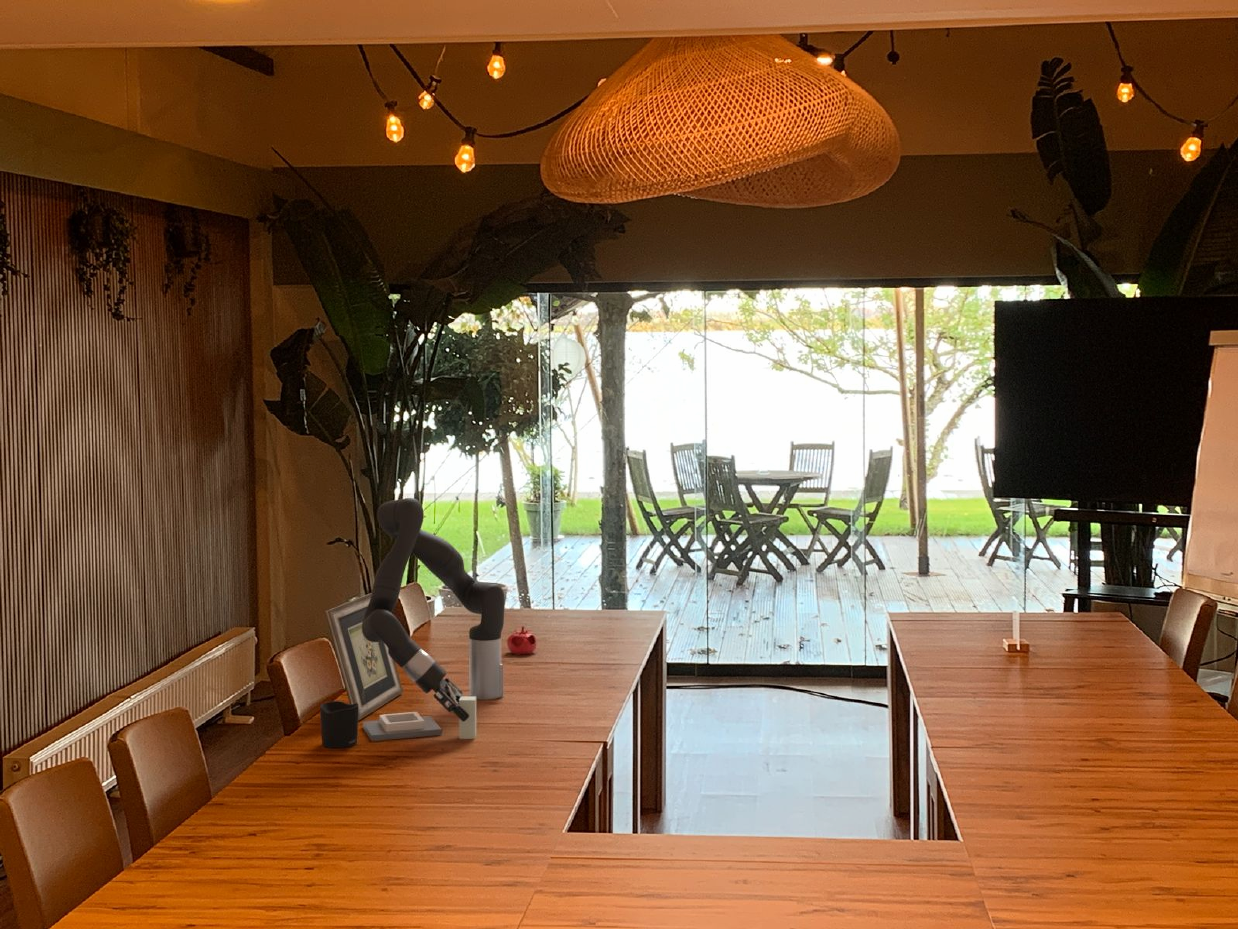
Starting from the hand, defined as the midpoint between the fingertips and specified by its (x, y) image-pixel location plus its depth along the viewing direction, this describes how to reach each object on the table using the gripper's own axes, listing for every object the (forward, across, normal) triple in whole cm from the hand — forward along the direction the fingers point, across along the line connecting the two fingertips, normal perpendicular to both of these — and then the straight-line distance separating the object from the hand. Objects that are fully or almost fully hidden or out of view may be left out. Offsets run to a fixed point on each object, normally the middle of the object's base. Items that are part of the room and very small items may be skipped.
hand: (468, 714), depth 325 cm
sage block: (+4, 0, +4) cm, 6 cm away
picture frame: (-19, +31, +27) cm, 45 cm away
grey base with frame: (-9, +5, +17) cm, 20 cm away
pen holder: (-18, -7, +27) cm, 33 cm away
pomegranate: (+9, +104, 0) cm, 104 cm away
